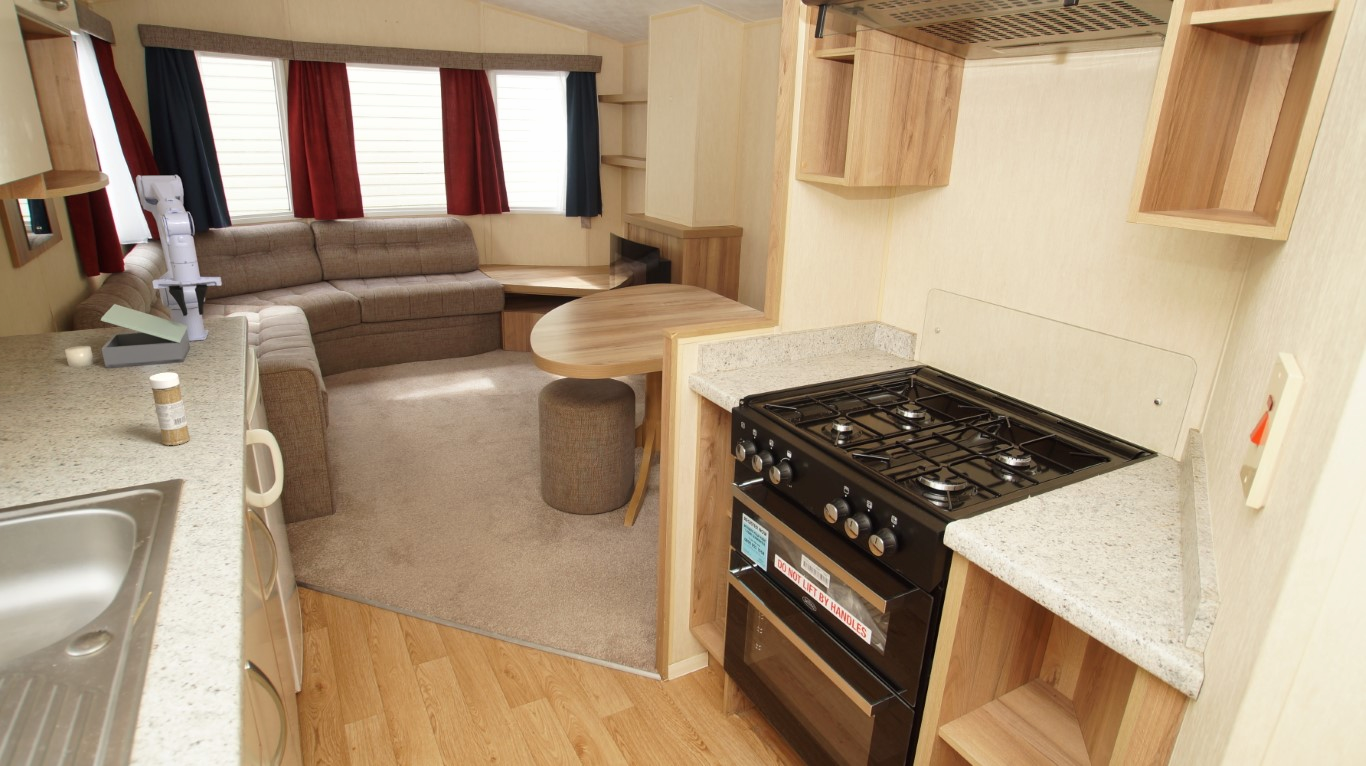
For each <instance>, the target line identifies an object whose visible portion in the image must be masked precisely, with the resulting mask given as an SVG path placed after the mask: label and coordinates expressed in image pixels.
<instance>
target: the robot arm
mask: <svg viewBox="0 0 1366 766" xmlns="http://www.w3.org/2000/svg"><path fill="white" fill-rule="evenodd" d="M135 181H136V182H135V183H136V184H135V185H136V187H137V193H138V196H139V200H140V205H141V206H142V208H143V210H146V211H147V212H150V213H151V214H152V216H153V218H154V219H155V223H156V226H157V230H158V233H159V238H160V242H161V248H162V252H163V257H164V260H165V264H166V269H167V271H166V272H165V273H164V274H163V275H161V276H160V277H159V278H158V279H153V280H152V281H151V282H152V287H153V289H154V290H155V289H158V290H159V297H160V300H161V303H162V306H164V307H165V308H168V309H169V314H170V316H169V317H170V319H171V320H170V321H173V322H177V323H180V324H184V325H187V326H188V327H187V332H188V337H189V342H190V341H191V342H193V341H194V342H195V341H205V340H207V336H208V334H209V333H210V331H209V330H208V329H205V325H204V319H203V315H204V305H205V302H206V294H207V290H208V288H209V287H210V286H219V287H220V286H222V285H223V283H222V282H223V281H222V277H221V276H201V274H200V269H199V263H198V257H197V251H196V246H195V240H194V236H195V225H194V220H193V219H194V218H193V216H192V215H191V213H190V211H186V209H185V207H184V195H185V194H184V188H183V182H182V179H181V177H180V176H179V175H178V174H174V175H140V174H137V176H136V177H135Z"/></svg>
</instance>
